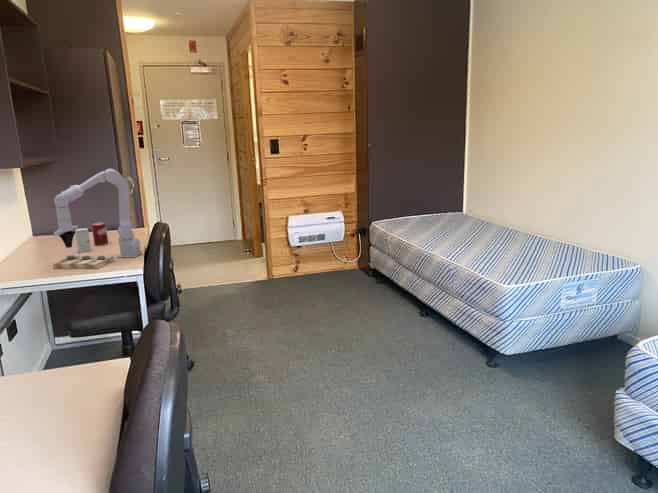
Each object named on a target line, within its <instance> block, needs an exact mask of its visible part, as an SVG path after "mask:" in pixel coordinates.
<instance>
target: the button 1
mask: <svg viewBox="0 0 658 493" xmlns="http://www.w3.org/2000/svg"><path fill="white" fill-rule="evenodd" d="M74 256H75V255H67V256H66V258H67V260H73V259H75V257H74Z"/></svg>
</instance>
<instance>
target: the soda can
mask: <svg viewBox="0 0 658 493" xmlns="http://www.w3.org/2000/svg"><path fill="white" fill-rule="evenodd" d="M91 230H92V232H91V233H92V237H93V243H94V246H95V247H101V246H106V245H108V244H109V237H108V236H109V235H108V231H107V225H106V223H105V222H95V223H94V222H93V223H92V224H91Z"/></svg>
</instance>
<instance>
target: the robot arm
mask: <svg viewBox="0 0 658 493" xmlns="http://www.w3.org/2000/svg"><path fill="white" fill-rule="evenodd" d="M106 182H108V183H110V184H112V185H114V186H115V187H116V188H117V189H118V207H119V208H118V211H119V213H118V214H119V226H118V227H117V234H118V235H119V237H118V239H117V240H118V247H119V252H120V254H119V255H117V256H116V257H117V258H136V257H138V256H140V255H141V254H143V252H142V247H141V241H140V239H138V238H135V236H134V237H133V236H132V235H133V234H134V233H133V230H132V227H131V220H130V216H131V214H130V192H129V189H130V188H129V183H128V182H127V180H126V179H125V178H124V177H123V176H122V174H121V173H120V172H119V171H117V170H116V169H114V168H107V169H105V170H103V171H101V172H98V173H96V174H95V175H93V176H92V177H90V178H88V179H87V180H85V181H84V182H82V183H81V184H79V185H78V184H74V185H70V186H69V188H67V189H66V190H64V191H63V190H62V191H60V193H59V194H56V196H54V198H53V199H54V200H53V202H54V205H55V211H56V212H55V213H56V219H57V224H58V228H57V230H56V231H53V237H60V239H61V240H62V242H63V244H64V246H65V248H69V249H70V248H72V246H73V240H74V236H75V235H76V233H75V230H78V229H79V227H78V226H79V225H73V223H72V217H71V210H70V208H69V203H72V202H73V201H75V200H77V199H78V198H80V197H82V196H83V195H84V192H85V191H87V190H88V189H89V188H91V187H93V186H95V185H97V184H98V183H106Z"/></svg>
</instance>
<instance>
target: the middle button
mask: <svg viewBox="0 0 658 493" xmlns="http://www.w3.org/2000/svg"><path fill="white" fill-rule="evenodd" d="M82 256H83V257H82V260H88V259H90V257H89V256H90V255H82Z"/></svg>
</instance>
